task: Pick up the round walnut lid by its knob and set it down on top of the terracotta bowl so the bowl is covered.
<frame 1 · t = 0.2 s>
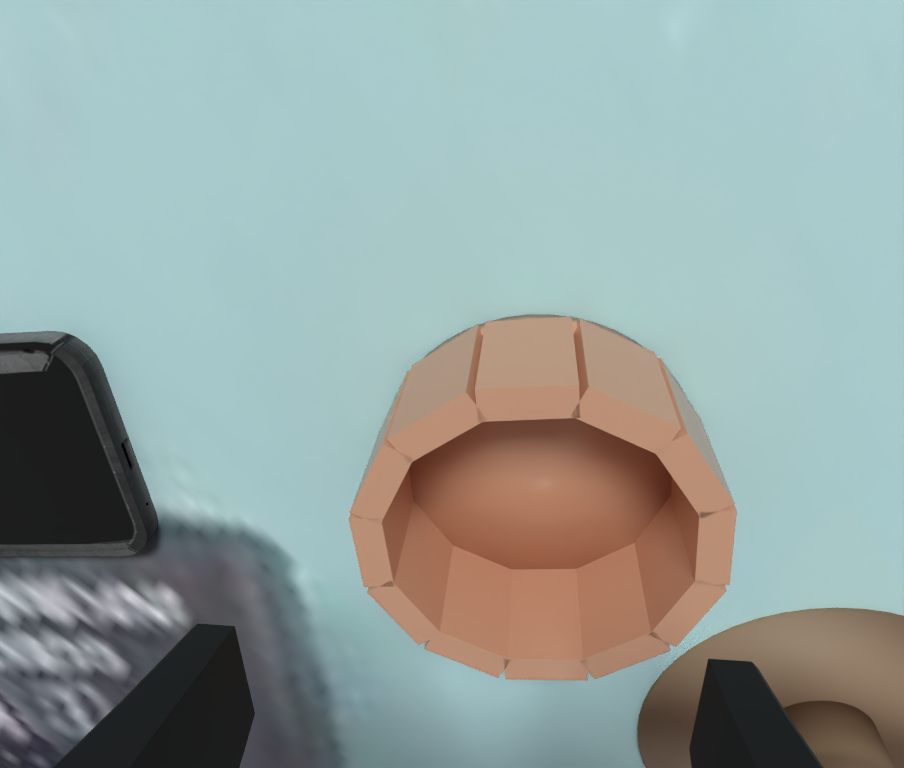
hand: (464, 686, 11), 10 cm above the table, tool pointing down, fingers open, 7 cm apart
terracotta bowl: (537, 458, 20), on the table
walnut lid: (809, 723, 25), on the table
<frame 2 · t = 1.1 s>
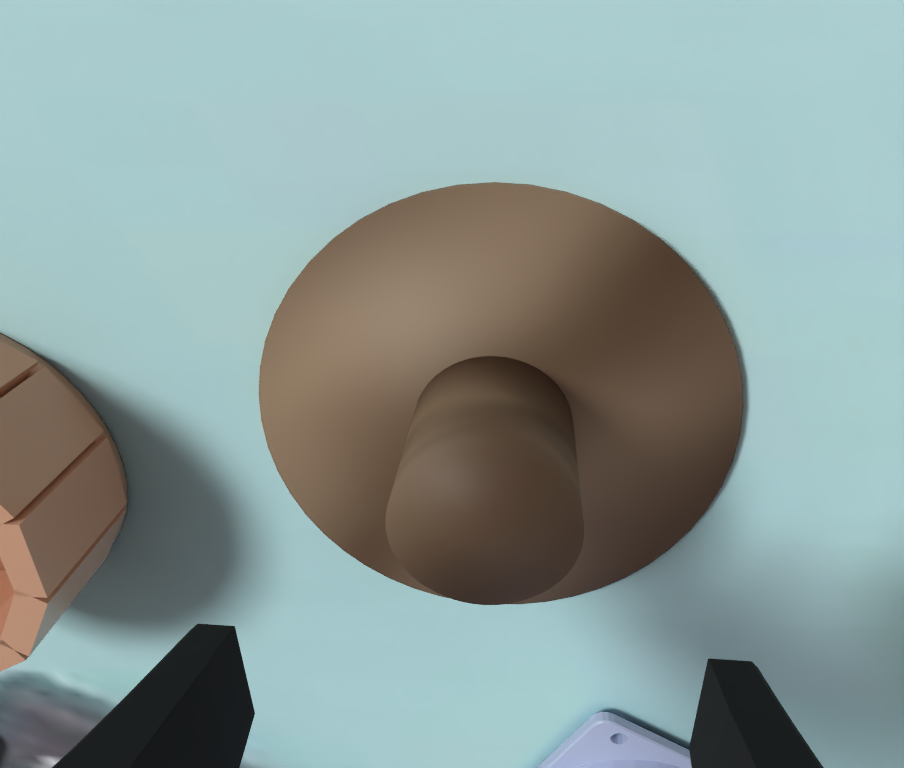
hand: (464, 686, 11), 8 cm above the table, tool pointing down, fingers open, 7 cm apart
walnut lid: (493, 415, 18), on the table
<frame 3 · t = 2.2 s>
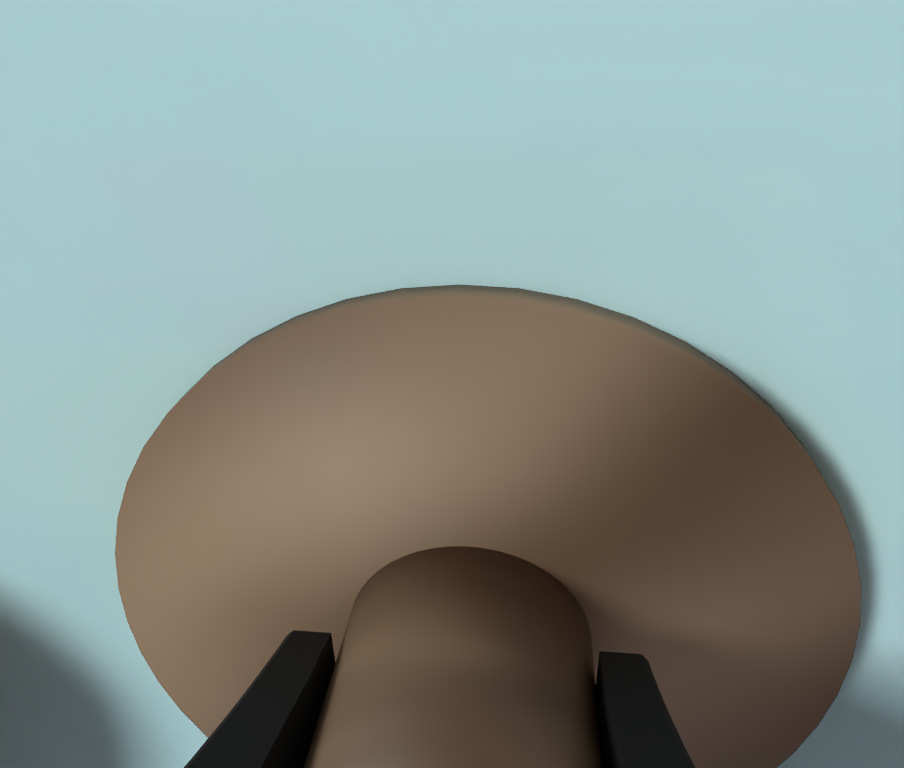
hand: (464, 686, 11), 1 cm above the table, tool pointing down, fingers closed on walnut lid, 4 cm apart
walnut lid: (471, 612, 12), on the table, touching gripper
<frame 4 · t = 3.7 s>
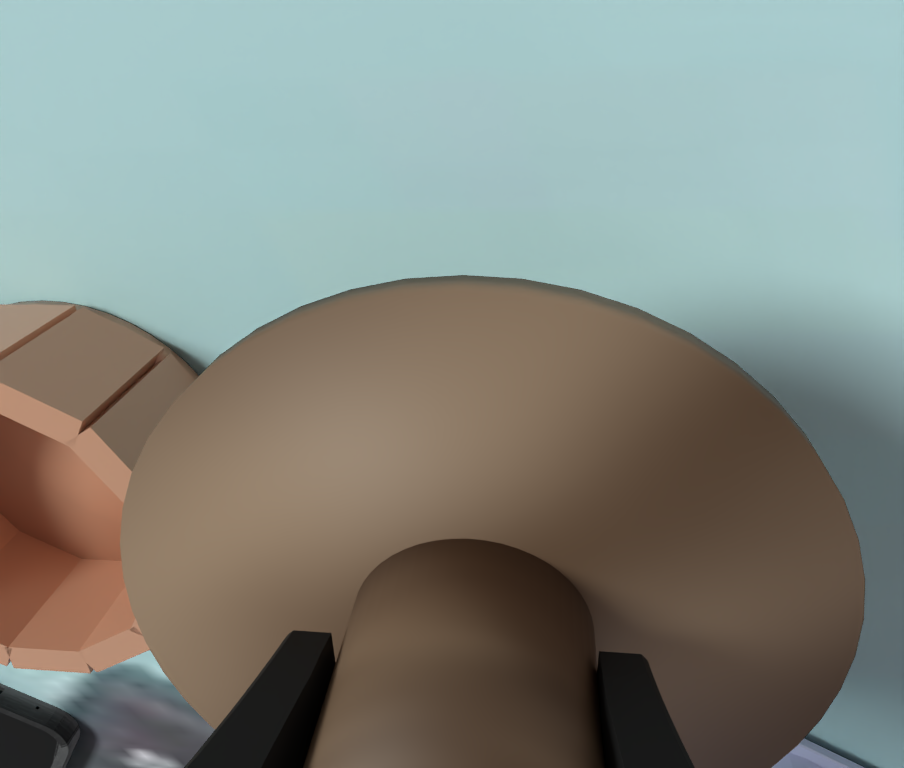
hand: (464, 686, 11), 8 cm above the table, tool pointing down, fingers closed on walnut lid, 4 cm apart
terracotta bowl: (89, 447, 20), on the table
walnut lid: (474, 605, 12), point 7 cm above the table, touching gripper
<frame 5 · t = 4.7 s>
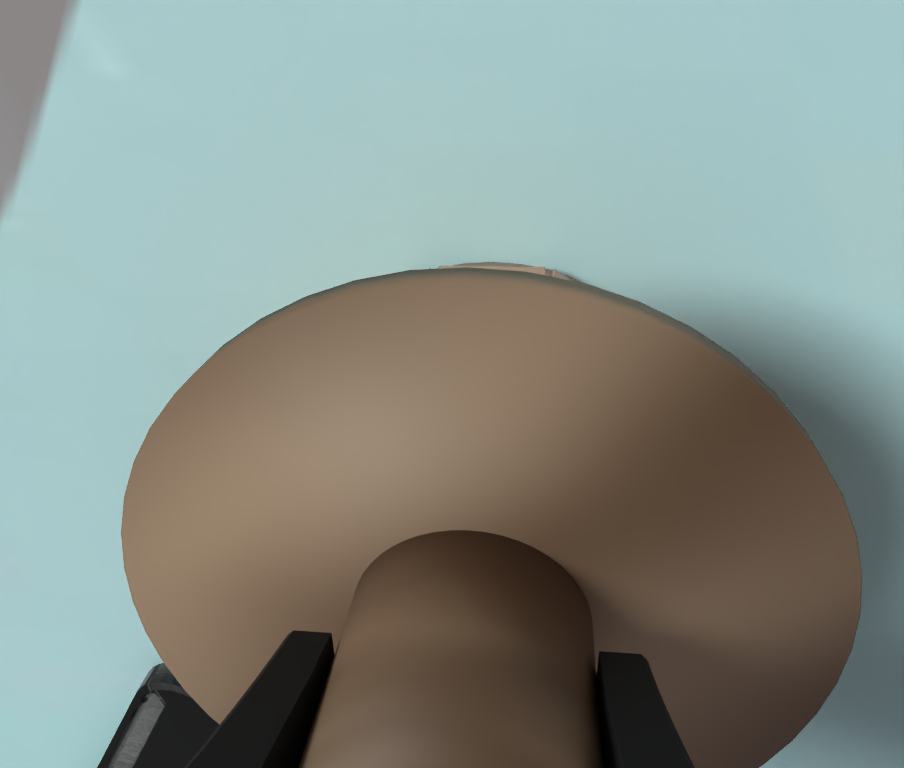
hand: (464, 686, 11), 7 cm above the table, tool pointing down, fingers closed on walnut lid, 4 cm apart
terracotta bowl: (491, 440, 17), on the table
walnut lid: (473, 597, 12), point 5 cm above the table, touching gripper
when the fingers open (6 cm above the table, at t = 5.2 s): walnut lid stays where it is, resting on terracotta bowl.
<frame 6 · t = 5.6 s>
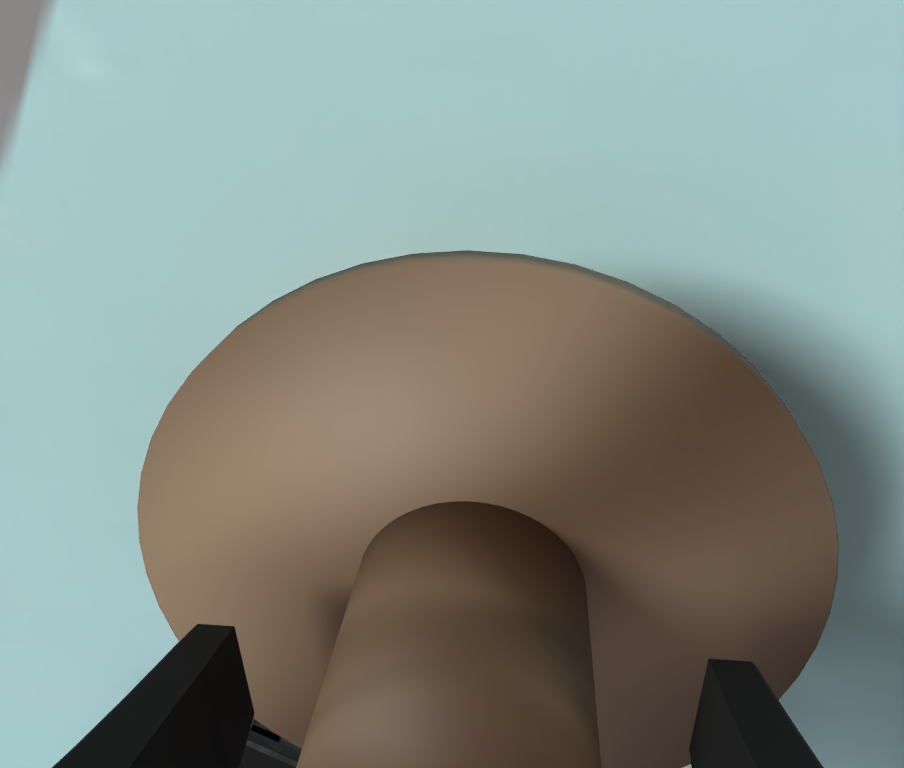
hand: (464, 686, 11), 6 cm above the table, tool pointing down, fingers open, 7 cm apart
walnut lid: (473, 569, 13), point 4 cm above the table, touching terracotta bowl
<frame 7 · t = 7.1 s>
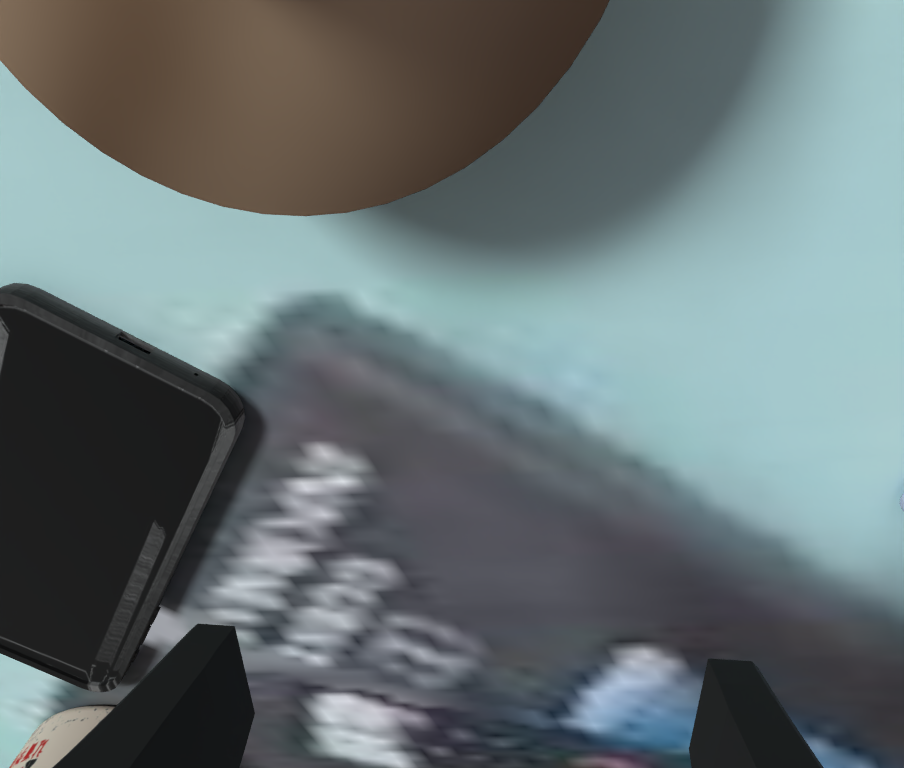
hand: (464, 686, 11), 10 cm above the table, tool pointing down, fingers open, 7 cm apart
phone: (81, 502, 24), on the table
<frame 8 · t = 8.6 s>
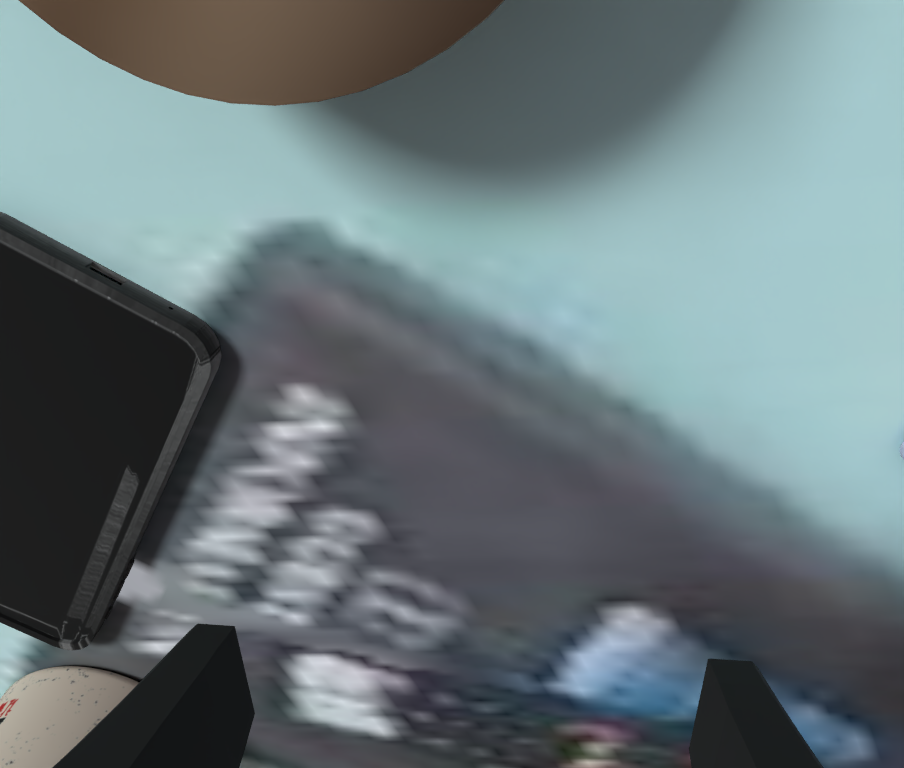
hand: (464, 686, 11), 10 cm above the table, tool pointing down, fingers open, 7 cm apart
teacup with lid: (110, 749, 30), on the table
phone: (53, 448, 23), on the table
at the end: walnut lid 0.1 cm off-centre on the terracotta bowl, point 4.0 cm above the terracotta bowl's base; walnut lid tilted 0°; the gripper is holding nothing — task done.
